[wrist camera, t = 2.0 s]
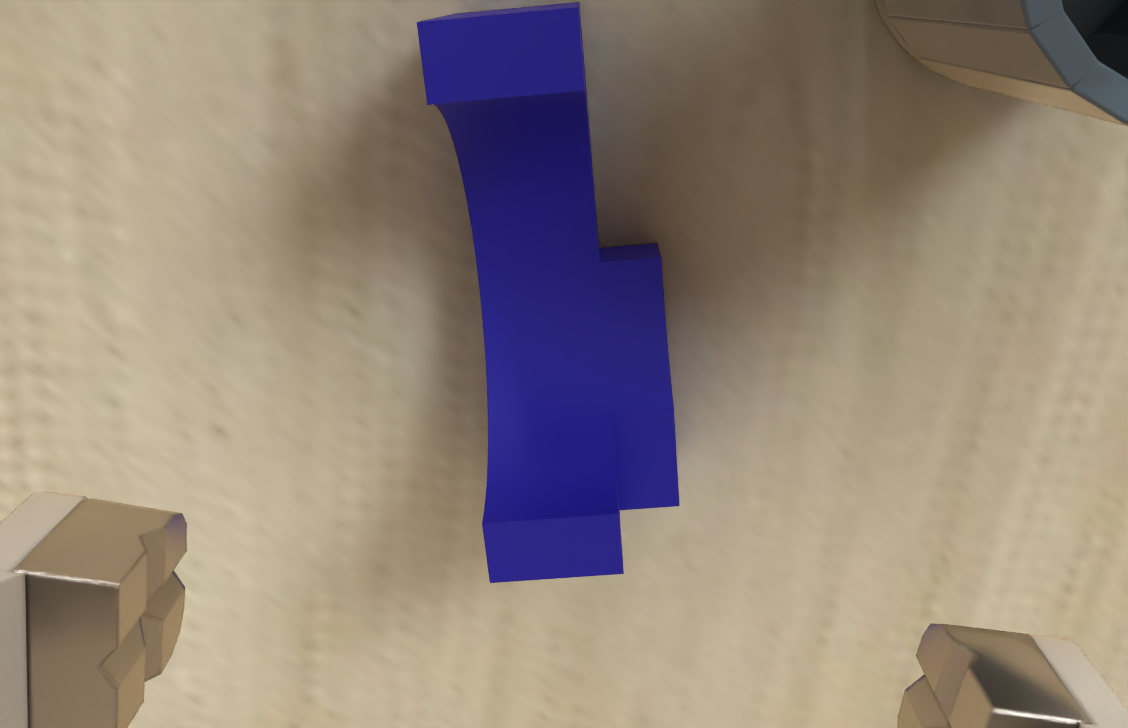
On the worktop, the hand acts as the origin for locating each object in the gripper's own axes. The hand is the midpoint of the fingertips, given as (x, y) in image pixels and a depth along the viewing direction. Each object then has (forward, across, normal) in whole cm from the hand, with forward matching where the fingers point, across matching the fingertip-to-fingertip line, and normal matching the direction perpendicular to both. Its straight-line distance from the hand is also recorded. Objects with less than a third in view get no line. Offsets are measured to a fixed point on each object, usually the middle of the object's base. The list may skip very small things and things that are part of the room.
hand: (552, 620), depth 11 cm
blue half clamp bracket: (+17, 0, 0) cm, 17 cm away
